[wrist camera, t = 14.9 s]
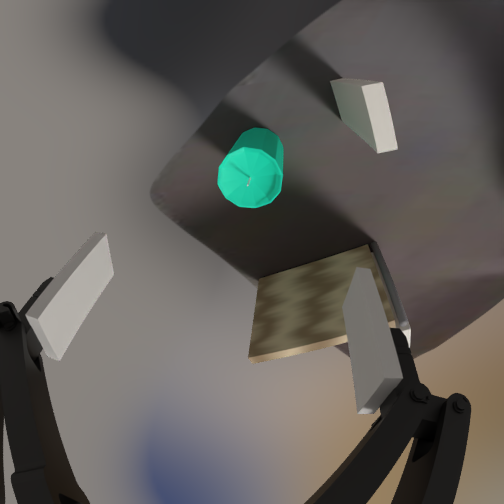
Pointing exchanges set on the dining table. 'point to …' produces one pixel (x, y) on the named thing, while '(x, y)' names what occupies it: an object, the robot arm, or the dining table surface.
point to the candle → (252, 169)
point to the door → (308, 306)
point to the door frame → (381, 140)
